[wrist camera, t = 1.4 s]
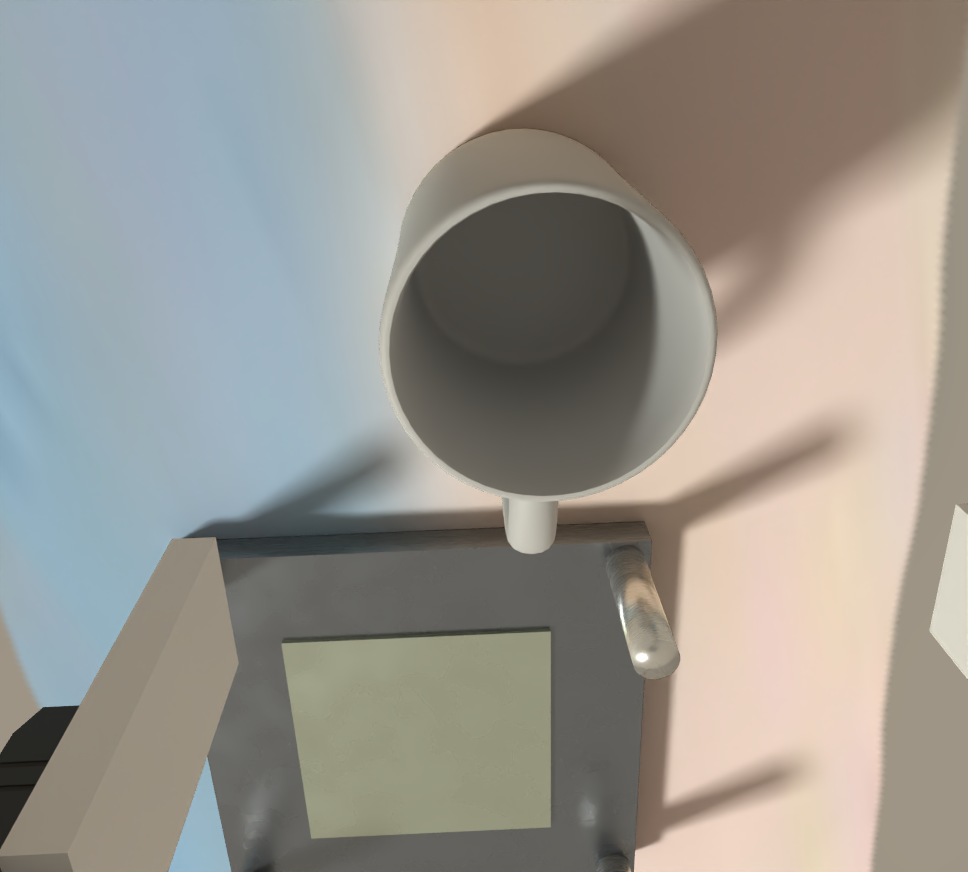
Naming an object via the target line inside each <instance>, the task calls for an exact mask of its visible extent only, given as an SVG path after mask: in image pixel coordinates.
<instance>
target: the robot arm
mask: <svg viewBox="0 0 968 872" xmlns="http://www.w3.org/2000/svg"><path fill="white" fill-rule="evenodd" d="M930 632H931V634H932V635H933V636H934V637H935V639H936V640H937V641H938V642H939V644H940V645H941V646H942V648H943V649H944V650H945V651H946V653H947V654H948V655H949V656H950V658H951V659H952V660H953V661H954V663H955V664H956V665H957V666H958V668H959V669H960V670H961V671H962V673H963V674H964V675H965V676H966V678H967V679H968V504H956V507H955V512H954V517H953V521H952V527H951V531H950V536H949V540H948V545H947V550H946V555H945V559H944V564H943V569H942V574H941V579H940V583H939V588H938V593H937V598H936V602H935V607H934V612H933V617H932V621H931V626H930ZM238 664H239V663H238V657H237V652H236V646H235V641H234V635H233V630H232V624H231V619H230V613H229V608H228V602H227V597H226V591H225V586H224V580H223V575H222V569H221V564H220V558H219V553H218V547H217V542H216V537H207V538H185V539H172V540H171V542H170V543H169V545H168V547H167V549H166V551H165V552H164V554H163V556H162V558H161V560H160V562H159V563H158V565H157V567H156V569H155V571H154V572H153V574H152V576H151V578H150V580H149V581H148V583H147V585H146V587H145V589H144V590H143V592H142V594H141V596H140V598H139V599H138V601H137V603H136V605H135V607H134V609H133V610H132V612H131V614H130V616H129V618H128V619H127V621H126V623H125V625H124V627H123V628H122V630H121V632H120V634H119V636H118V637H117V639H116V641H115V643H114V645H113V646H112V648H111V650H110V652H109V654H108V655H107V657H106V659H105V661H104V663H103V665H102V666H101V668H100V670H99V672H98V674H97V675H96V677H95V679H94V681H93V683H92V684H91V686H90V688H89V690H88V692H87V693H86V695H85V697H84V699H83V701H82V702H81V704H80V706H61V707H43V708H42V709H41V710H40V711H39V712H37V713H36V714H35V715H34V716H33V717H32V718H31V719H29V720H28V721H27V722H26V723H25V724H23V725H22V726H21V727H20V728H19V729H18V730H16V731H15V732H14V733H13V734H12V736H11V738H10V740H9V741H8V743H7V744H6V746H5V747H4V749H3V750H2V752H1V754H0V872H168V870H169V867H170V865H171V862H172V859H173V856H174V853H175V850H176V847H177V844H178V841H179V838H180V835H181V832H182V829H183V826H184V823H185V820H186V817H187V814H188V811H189V808H190V806H191V803H192V800H193V797H194V794H195V791H196V788H197V785H198V782H199V779H200V776H201V773H202V770H203V767H204V764H205V761H206V758H207V755H208V752H209V750H210V747H211V744H212V741H213V738H214V735H215V732H216V729H217V726H218V723H219V720H220V717H221V714H222V711H223V708H224V705H225V702H226V699H227V696H228V693H229V691H230V688H231V685H232V682H233V679H234V676H235V673H236V670H237V667H238Z"/></svg>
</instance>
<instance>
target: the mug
mask: <svg viewBox="0 0 968 872" xmlns="http://www.w3.org/2000/svg"><path fill="white" fill-rule="evenodd" d="M716 347H717V319H716V309H715V305H714V300H713V296H712V291H711V288H710V286H709V283H708V280H707V278H706V275H705V272H704V270H703V268H702V266H701V264H700V262H699V260H698V258H697V257H696V255H695V253H694V251H693V249H692V248H691V246H690V245H689V244H688V242H687V241H686V240H685V238H684V237H683V236H682V234H681V233H680V232H679V231H678V229H677V228H676V227H675V226H674V225H673V224H672V223H671V222H670V221H669V220H668V219H667V218H666V217H665V216H664V215H663V214H662V213H661V212H660V211H659V210H657V209H656V208H655V207H654V206H653V205H652V204H651V203H650V202H648V201H647V200H646V199H645V198H644V197H643V196H642V195H641V194H639V193H638V192H637V191H636V190H635V189H634V188H633V187H632V186H631V185H629V184H628V183H627V182H626V181H625V180H624V179H623V178H622V177H620V175H619V174H618V173H617V172H616V171H615V170H614V169H613V168H612V167H611V166H610V165H609V164H608V163H607V162H606V161H605V160H604V159H603V158H602V157H600V156H599V155H598V154H596V153H595V152H594V151H592V150H591V149H590V148H588V147H586V146H584V145H583V144H581V143H579V142H577V141H575V140H573V139H571V138H568V137H565V136H563V135H560V134H558V133H553V132H549V131H544V130H538V129H526V128H523V129H507V130H502V131H497V132H492V133H489V134H486V135H483V136H480V137H477V138H475V139H473V140H471V141H469V142H467V143H465V144H463V145H461V146H459V147H458V148H456V149H455V150H453V151H452V152H450V153H449V154H447V155H446V156H445V157H444V158H443V159H442V160H441V161H440V162H438V163H437V164H436V165H435V166H434V167H433V168H432V170H431V171H430V172H429V173H428V174H427V175H426V177H425V178H424V179H423V181H422V182H421V184H420V185H419V187H418V189H417V190H416V192H415V193H414V195H413V197H412V199H411V201H410V204H409V206H408V208H407V210H406V214H405V217H404V220H403V223H402V227H401V232H400V238H399V243H398V249H397V253H396V257H395V261H394V264H393V268H392V272H391V276H390V280H389V284H388V288H387V292H386V296H385V299H384V304H383V310H382V316H381V322H380V333H379V354H380V364H381V372H382V376H383V381H384V385H385V389H386V393H387V395H388V398H389V400H390V403H391V405H392V408H393V410H394V412H395V414H396V416H397V418H398V419H399V421H400V423H401V425H402V427H403V428H404V430H405V431H406V432H407V434H408V435H409V436H410V438H411V439H412V440H413V442H414V443H415V444H416V446H417V447H418V448H419V449H420V450H421V451H422V452H423V453H424V454H425V455H426V456H427V457H428V458H429V459H430V460H431V461H432V462H434V463H435V464H436V465H437V466H439V467H440V468H441V469H443V470H444V471H445V472H446V473H448V474H450V475H451V476H453V477H455V478H456V479H458V480H460V481H461V482H463V483H465V484H467V485H469V486H472V487H474V488H476V489H479V490H481V491H483V492H487V493H490V494H493V495H496V496H500V497H502V506H503V517H504V525H505V531H506V535H507V540H508V542H509V543H510V545H511V546H512V547H513V549H515V550H517V551H519V552H521V553H527V554H536V553H542V552H544V551H545V550H547V549H549V548H550V546H551V545H552V543H553V542H554V540H555V535H556V527H557V517H558V501H563V500H569V499H575V498H580V497H585V496H588V495H591V494H595V493H598V492H602V491H604V490H606V489H609V488H611V487H614V486H616V485H618V484H621V483H623V482H624V481H626V480H628V479H630V478H631V477H633V476H635V475H637V474H638V473H640V472H641V471H643V470H644V469H646V468H647V467H648V466H650V465H651V464H652V463H654V462H655V461H656V460H657V459H659V458H660V457H661V456H662V455H663V454H664V453H665V452H666V451H667V450H668V449H669V448H670V447H671V446H672V445H673V444H674V443H675V442H676V440H677V439H678V438H679V437H680V436H681V435H682V433H683V432H684V431H685V429H686V428H687V426H688V425H689V423H690V422H691V420H692V419H693V417H694V416H695V414H696V412H697V410H698V408H699V406H700V404H701V402H702V400H703V398H704V396H705V394H706V391H707V388H708V385H709V382H710V379H711V376H712V372H713V367H714V362H715V357H716Z"/></svg>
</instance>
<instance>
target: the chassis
mask: <svg viewBox="0 0 968 872" xmlns="http://www.w3.org/2000/svg"><path fill="white" fill-rule="evenodd" d="M216 542H217V547H218V553H219V558H220V564H221V569H222V575H223V580H224V586H225V591H226V597H227V602H228V608H229V613H230V619H231V624H232V630H233V635H234V641H235V646H236V652H237V657H238V663H239V664H238V667H237V670H236V673H235V676H234V679H233V682H232V685H231V688H230V691H229V693H228V696H227V699H226V702H225V705H224V708H223V711H222V714H221V717H220V720H219V723H218V726H217V729H216V732H215V735H214V738H213V741H212V744H211V747H210V750H209V752H208V755H207V757H208V761H209V766H210V771H211V776H212V780H213V785H214V790H215V795H216V800H217V804H218V809H219V814H220V819H221V823H222V828H223V833H224V838H225V843H226V847H227V852H228V857H229V862H230V867H231V871H232V872H634V857H635V839H636V820H637V802H638V783H639V765H640V746H641V728H642V710H643V691H644V677H645V678H648V679H660V678H664V677H666V676H668V675H670V674H671V673H673V672H674V671H675V670H676V668H677V667H678V665H679V662H680V654H679V651H678V648H677V645H676V643H675V640H674V637H673V634H672V632H671V629H670V626H669V623H668V620H667V618H666V615H665V612H664V609H663V607H662V604H661V601H660V598H659V596H658V593H657V590H656V587H655V584H654V582H653V579H652V576H651V573H650V562H651V544H652V540H651V538H650V535H649V533H648V530H647V527H646V525H645V522H625V523H601V524H578V525H557V527H556V535H555V540H554V542H553V543H552V545H551V546H550V548H549V549H547V550H545V551H544V552H542V553H536V554H527V553H521V552H519V551H517V550H515V549H513V547H512V546H511V545H510V543H509V542H508V540H507V535H506V531H505V528H484V529H460V530H436V531H413V532H389V533H366V534H342V535H319V536H295V537H271V538H248V539H224V540H216Z"/></svg>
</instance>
